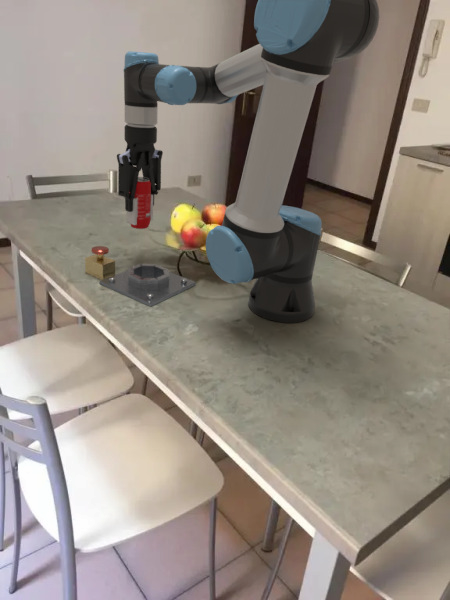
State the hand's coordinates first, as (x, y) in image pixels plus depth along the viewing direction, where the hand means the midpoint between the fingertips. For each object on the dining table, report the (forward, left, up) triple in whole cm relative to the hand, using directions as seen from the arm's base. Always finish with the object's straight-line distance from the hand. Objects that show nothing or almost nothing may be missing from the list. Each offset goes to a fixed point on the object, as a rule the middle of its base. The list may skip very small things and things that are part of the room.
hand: (139, 221), depth 131 cm
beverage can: (0, 0, -2) cm, 2 cm away
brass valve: (+1, +13, -11) cm, 17 cm away
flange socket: (-11, +9, -11) cm, 18 cm away
